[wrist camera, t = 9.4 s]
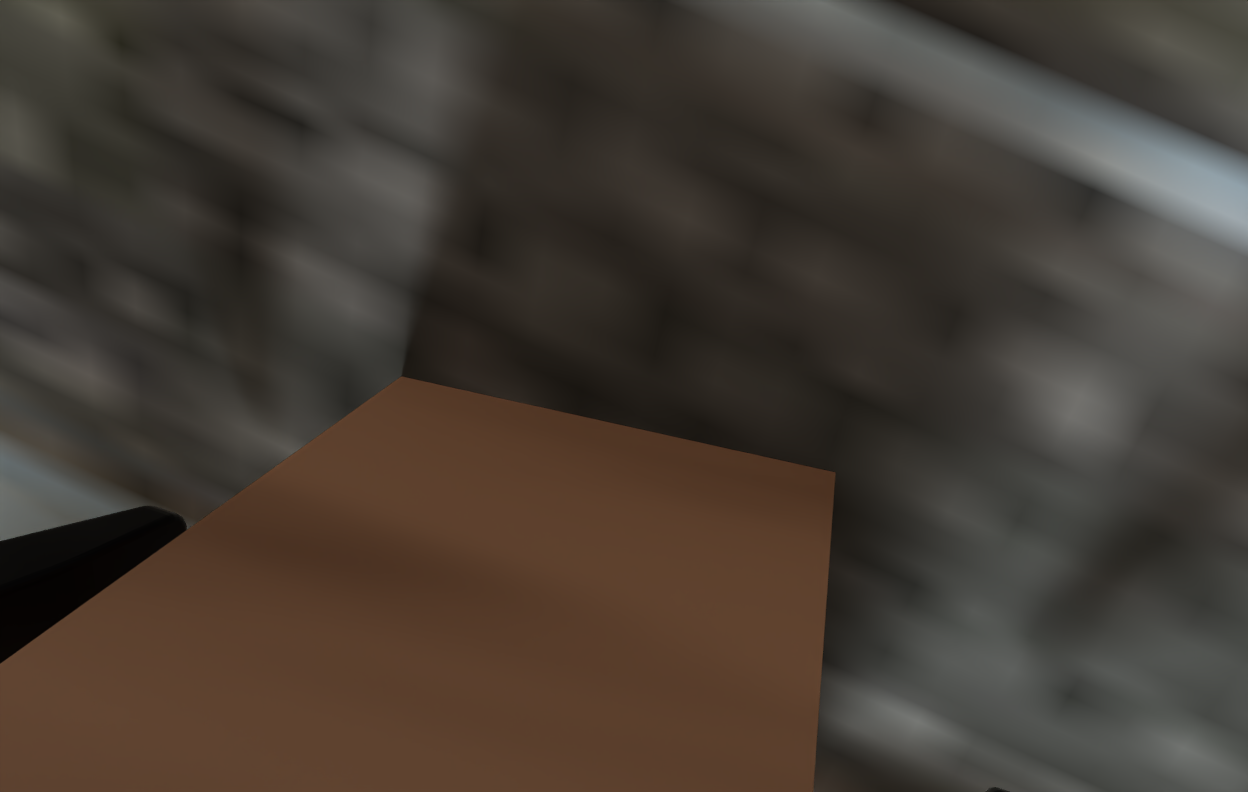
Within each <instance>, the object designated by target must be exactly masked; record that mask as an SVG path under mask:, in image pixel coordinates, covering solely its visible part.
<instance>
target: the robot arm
mask: <svg viewBox="0 0 1248 792" xmlns="http://www.w3.org/2000/svg"><path fill="white" fill-rule="evenodd" d="M186 530H187V528H186V523H185V521H184V519H183V518H182V517H181V516H180V515H178V514H176V513H173V512H170V511H167V510H164V509H161V508H158V507H155V506H142V507H138V508H134V509H130V510H126V511H121V512H117V513H113V514H109V515H105V516H101V517H97V518H93V519H89V520H85V521H81V522H76V523H72V524H68V525H64V526H60V527H56V528H52V529H48V530H44V531H40V532H36V533H32V534H27V535H23V536H19V537H15V538H11V539H7V540H3V541H0V664H1V663H2V662H3V661H5V660H6V659H8V658H9V657H10V656H12V655H13V654H15V653H16V652H17V651H19V650H20V649H22V648H23V647H24V646H26V645H27V644H29V643H30V642H31V641H33V640H34V639H36V638H37V637H38V636H40V635H41V634H42V633H44V632H45V631H47V630H48V629H49V628H51V627H52V626H54V625H55V624H56V623H58V622H59V621H61V620H62V619H63V618H65V617H66V616H68V615H69V614H70V613H72V612H73V611H75V610H76V609H77V608H79V607H80V606H82V605H83V604H84V603H86V602H87V601H89V600H90V599H91V598H93V597H94V596H96V595H97V594H98V593H100V592H101V591H103V590H104V589H105V588H107V587H108V586H109V585H111V584H112V583H114V582H115V581H116V580H118V579H119V578H121V577H122V576H123V575H125V574H126V573H128V572H129V571H130V570H132V569H133V568H135V567H136V566H137V565H139V564H140V563H142V562H143V561H144V560H146V559H147V558H149V557H150V556H151V555H153V554H154V553H156V552H157V551H158V550H160V549H161V548H163V547H164V546H165V545H167V544H168V543H170V542H171V541H172V540H174V539H175V538H176V537H178V536H179V535H181V534H182V533H183V532H185V531H186ZM985 792H1009V791H1006V790H1003V789H1000V788H996V787H993V788H989V789H988V790H987V791H985Z"/></svg>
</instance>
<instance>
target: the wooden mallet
mask: <svg viewBox="0 0 1248 792" xmlns="http://www.w3.org/2000/svg"><path fill="white" fill-rule="evenodd" d="M834 487H835V472H831V471H827V470H822V469H817V468H813V467H808V466H804V465H799V464H795V463H790V462H786V461H781V460H777V459H772V458H768V457H763V456H759V455H754V454H750V453H745V452H741V451H736V450H732V449H727V448H723V447H718V446H714V445H709V444H705V443H700V442H695V441H691V440H686V439H682V438H677V437H673V436H668V435H664V434H659V433H655V432H650V431H646V430H641V429H637V428H632V427H628V426H623V425H619V424H614V423H610V422H605V421H601V420H596V419H592V418H587V417H583V416H578V415H573V414H569V413H564V412H560V411H555V410H551V409H546V408H542V407H537V406H533V405H528V404H524V403H519V402H515V401H510V400H506V399H501V398H497V397H492V396H488V395H483V394H479V393H474V392H470V391H465V390H460V389H456V388H451V387H447V386H442V385H438V384H433V383H429V382H424V381H420V380H415V379H411V378H406V377H402V376H401V377H400V378H398V379H397V380H396V381H394V382H393V383H391V384H390V385H389V386H387V387H386V388H384V389H383V390H382V391H380V392H379V393H377V394H376V395H375V396H373V397H372V398H371V399H369V400H368V401H366V402H365V403H364V404H362V405H361V406H359V407H358V408H357V409H355V410H354V411H352V412H351V413H350V414H348V415H347V416H345V417H344V418H343V419H341V420H340V421H338V422H337V423H336V424H334V425H333V426H331V427H330V428H329V429H327V430H326V431H324V432H323V433H322V434H320V435H319V436H317V437H316V438H315V439H313V440H312V441H310V442H309V443H308V444H306V445H305V446H304V447H302V448H301V449H299V450H298V451H297V452H295V453H294V454H292V455H291V456H290V457H288V458H287V459H285V460H284V461H283V462H281V463H280V464H278V465H277V466H276V467H274V468H273V469H271V470H270V471H269V472H267V473H266V474H264V475H263V476H262V477H260V478H259V479H257V480H256V481H255V482H253V483H252V484H250V485H249V486H248V487H246V488H245V489H243V490H242V491H241V492H239V493H238V494H237V495H235V496H234V497H232V498H231V499H230V500H228V501H227V502H225V503H224V504H223V505H221V506H220V507H218V508H217V509H216V510H214V511H213V512H211V513H210V514H209V515H207V516H206V517H204V518H203V519H202V520H200V521H199V522H197V523H196V524H195V525H193V526H192V527H190V528H189V529H188V530H186V531H185V532H183V533H182V534H181V535H179V536H178V537H176V538H175V539H174V540H172V541H171V542H170V543H168V544H167V545H165V546H164V547H163V548H161V549H160V550H158V551H157V552H156V553H154V554H153V555H151V556H150V557H149V558H147V559H146V560H144V561H143V562H142V563H140V564H139V565H137V566H136V567H135V568H133V569H132V570H130V571H129V572H128V573H126V574H125V575H123V576H122V577H121V578H119V579H118V580H116V581H115V582H114V583H112V584H111V585H109V586H108V587H107V588H105V589H104V590H103V591H101V592H100V593H98V594H97V595H96V596H94V597H93V598H91V599H90V600H89V601H87V602H86V603H84V604H83V605H82V606H80V607H79V608H77V609H76V610H75V611H73V612H72V613H70V614H69V615H68V616H66V617H65V618H63V619H62V620H61V621H59V622H58V623H56V624H55V625H54V626H52V627H51V628H49V629H48V630H47V631H45V632H44V633H42V634H41V635H40V636H38V637H37V638H36V639H34V640H33V641H31V642H30V643H29V644H27V645H26V646H24V647H23V648H22V649H20V650H19V651H17V652H16V653H15V654H13V655H12V656H10V657H9V658H8V659H6V660H5V661H3V662H2V663H1V664H0V792H813V788H814V774H815V759H816V745H817V731H818V716H819V702H820V687H821V673H822V659H823V644H824V630H825V616H826V601H827V587H828V573H829V558H830V544H831V530H832V515H833V501H834Z"/></svg>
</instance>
